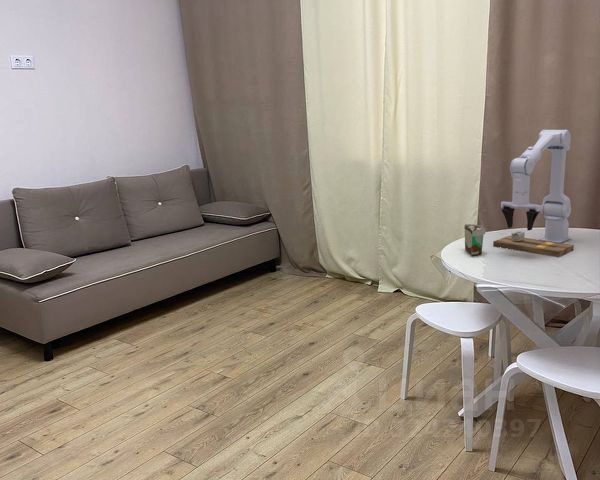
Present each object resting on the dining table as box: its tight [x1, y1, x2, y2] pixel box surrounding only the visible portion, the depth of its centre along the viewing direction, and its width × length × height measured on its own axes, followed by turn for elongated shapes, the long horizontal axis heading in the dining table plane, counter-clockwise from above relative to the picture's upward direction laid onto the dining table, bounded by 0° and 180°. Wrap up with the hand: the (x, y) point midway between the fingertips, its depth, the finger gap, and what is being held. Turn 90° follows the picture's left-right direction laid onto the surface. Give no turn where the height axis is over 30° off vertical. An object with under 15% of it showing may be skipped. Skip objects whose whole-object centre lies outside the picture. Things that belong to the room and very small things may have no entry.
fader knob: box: [510, 230, 525, 241], centre depth 231 cm, size 4×3×3 cm
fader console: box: [492, 235, 575, 258], centre depth 227 cm, size 12×26×2 cm, turn 42°
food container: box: [463, 223, 486, 257], centre depth 224 cm, size 12×6×10 cm, turn 179°
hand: (519, 228), depth 217 cm, fingers open, 7 cm apart
